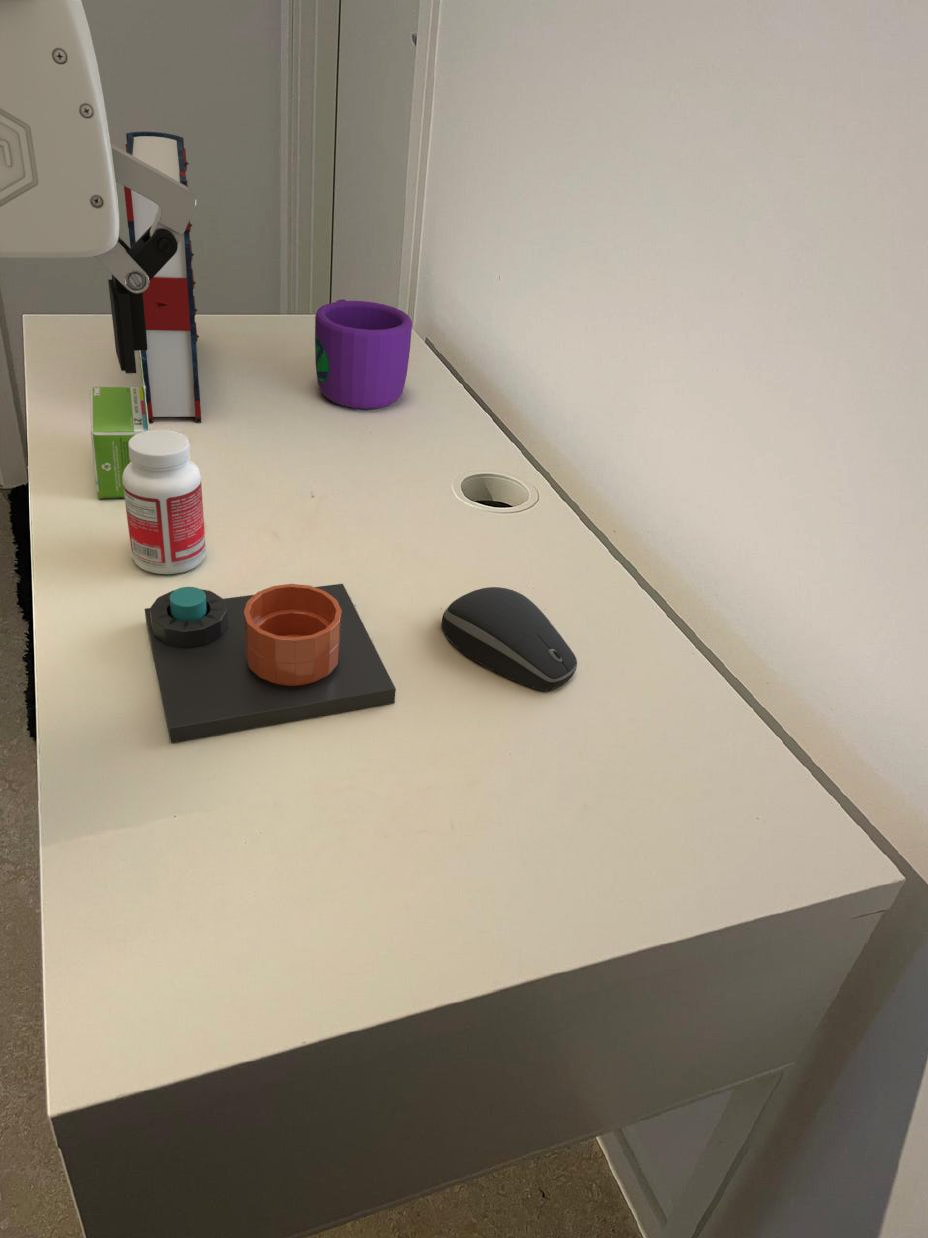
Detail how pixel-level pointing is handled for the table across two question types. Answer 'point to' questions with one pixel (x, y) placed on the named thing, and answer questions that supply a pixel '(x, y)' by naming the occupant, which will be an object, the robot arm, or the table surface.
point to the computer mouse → (509, 637)
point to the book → (166, 291)
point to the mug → (362, 353)
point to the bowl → (292, 634)
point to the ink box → (115, 432)
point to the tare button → (188, 604)
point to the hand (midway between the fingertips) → (23, 366)
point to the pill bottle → (164, 503)
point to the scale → (231, 692)
